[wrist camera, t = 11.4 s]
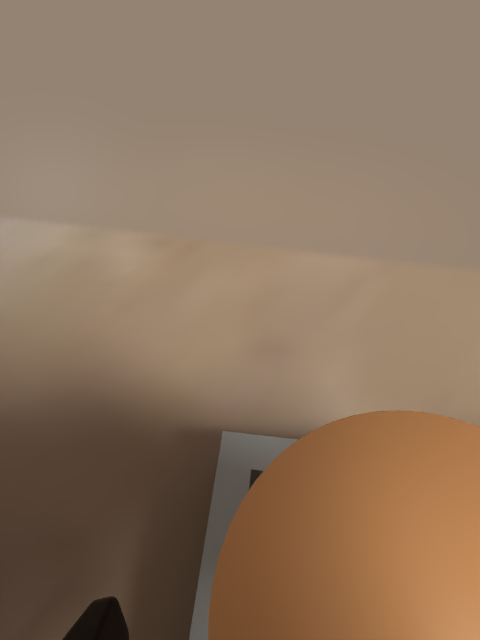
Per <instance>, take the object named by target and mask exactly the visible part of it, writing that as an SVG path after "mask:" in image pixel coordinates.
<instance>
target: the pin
mask: <svg viewBox="0 0 480 640" xmlns="http://www.w3.org/2000/svg"><path fill="white" fill-rule="evenodd" d="M208 640H480V427H477V426H475V425H472V424H469V423H466V422H462V421H459V420H456V419H453V418H450V417H445V416H440V415H435V414H430V413H424V412H413V411H399V410H398V411H378V412H370V413H365V414H359V415H353V416H350V417H347V418H343V419H340V420H337V421H334V422H331V423H329V424H327V425H324V426H322V427H320V428H318V429H316V430H314V431H312V432H310V433H308V434H307V435H305V436H304V437H302V438H301V439H299V440H298V441H296V442H295V443H293V444H292V445H290V446H289V447H288V448H287V449H286V450H284V451H283V452H282V453H281V454H280V455H279V456H278V457H276V458H275V459H274V460H273V461H272V462H271V463H270V464H269V465H268V467H267V468H266V469H265V470H264V471H263V472H262V473H261V475H260V476H259V477H258V478H257V479H256V480H255V482H254V483H253V485H252V486H251V488H250V489H249V491H248V492H247V494H246V495H245V497H244V498H243V500H242V502H241V504H240V506H239V508H238V510H237V512H236V514H235V516H234V518H233V520H232V522H231V524H230V526H229V528H228V531H227V534H226V537H225V539H224V542H223V545H222V548H221V551H220V554H219V558H218V562H217V566H216V571H215V575H214V579H213V584H212V592H211V600H210V608H209V619H208Z"/></svg>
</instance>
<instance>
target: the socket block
mask: <svg viewBox="0 0 480 640" xmlns="http://www.w3.org/2000/svg"><path fill="white" fill-rule="evenodd" d="M298 440H299V439H290V438H281V437H272V436H263V435H255V434H246V433H237V432H228V431H223V432H222V438H221V445H220V451H219V457H218V463H217V469H216V475H215V482H214V488H213V494H212V500H211V506H210V512H209V518H208V525H207V531H206V537H205V543H204V549H203V555H202V562H201V568H200V574H199V580H198V586H197V592H196V598H195V605H194V611H193V617H192V623H191V629H190V635H189V640H208V619H209V608H210V600H211V592H212V584H213V579H214V575H215V571H216V566H217V562H218V558H219V554H220V551H221V548H222V545H223V542H224V539H225V537H226V534H227V531H228V528H229V526H230V524H231V522H232V520H233V518H234V516H235V514H236V512H237V510H238V508H239V506H240V504H241V502H242V500H243V498H244V497H245V495H246V494H247V492H248V491H249V489H250V488H251V486H252V485H253V483H254V482H255V480H256V479H257V478H258V477H259V476H260V475H261V473H262V472H263V471H264V470H265V469H266V468H267V467H268V465H269V464H270V463H271V462H272V461H273V460H274V459H275V458H276V457H278V456H279V455H280V454H281V453H282V452H283V451H284V450H286V449H287V448H288V447H289V446H290V445H292V444H293V443H295V442H296V441H298Z"/></svg>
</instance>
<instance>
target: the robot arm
mask: <svg viewBox="0 0 480 640" xmlns="http://www.w3.org/2000/svg"><path fill="white" fill-rule="evenodd" d="M62 640H129V633H128V628H127V625H126V622H125V619H124V616H123V614H122V611H121V608H120V605H119V602H118V600H117V599H116V598H115V597H112V596H111V597H107V598H102V599H98V600H95V601H93V602H92V603H91V604H90V605H89V607H88V608H87V609H86V610H85V612H84V613H83V614H82V615H81V617H80V618H79V619H78V620H77V622H76V623H75V624H74V626H73V627H72V628H71V629H70V631H69V632H68V633H67V634H66V636H65V637H64V638H63V639H62Z"/></svg>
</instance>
